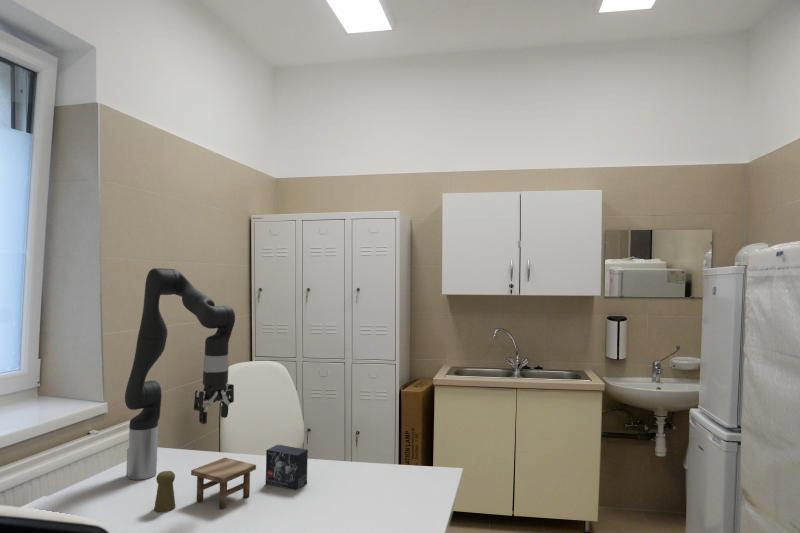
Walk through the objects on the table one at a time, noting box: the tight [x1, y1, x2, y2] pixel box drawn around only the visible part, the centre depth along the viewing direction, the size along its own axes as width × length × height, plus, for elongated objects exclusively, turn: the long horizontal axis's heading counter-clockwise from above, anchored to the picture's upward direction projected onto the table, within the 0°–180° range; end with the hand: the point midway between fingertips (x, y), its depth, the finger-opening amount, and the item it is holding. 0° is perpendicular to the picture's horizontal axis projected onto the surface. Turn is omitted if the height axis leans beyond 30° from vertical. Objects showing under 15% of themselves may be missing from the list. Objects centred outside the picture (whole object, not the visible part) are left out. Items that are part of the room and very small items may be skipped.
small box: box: [265, 444, 309, 491], centre depth 183 cm, size 13×7×12 cm, turn 68°
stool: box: [190, 457, 257, 510], centre depth 170 cm, size 14×14×10 cm
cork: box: [153, 470, 176, 514], centre depth 162 cm, size 6×6×11 cm
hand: (213, 420), depth 167 cm, fingers open, 8 cm apart
